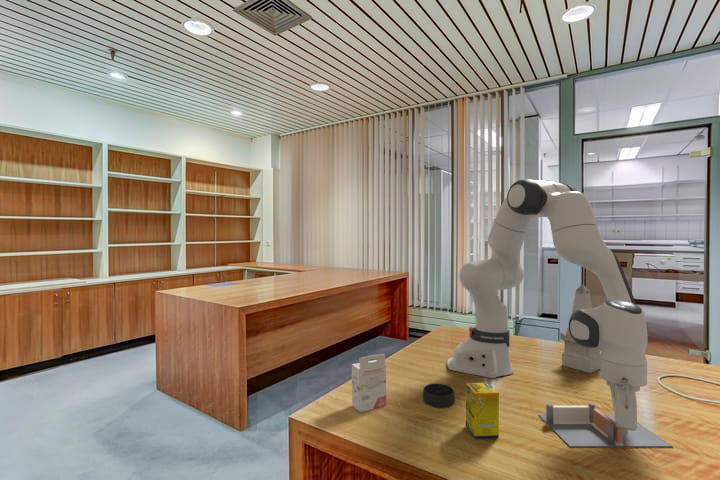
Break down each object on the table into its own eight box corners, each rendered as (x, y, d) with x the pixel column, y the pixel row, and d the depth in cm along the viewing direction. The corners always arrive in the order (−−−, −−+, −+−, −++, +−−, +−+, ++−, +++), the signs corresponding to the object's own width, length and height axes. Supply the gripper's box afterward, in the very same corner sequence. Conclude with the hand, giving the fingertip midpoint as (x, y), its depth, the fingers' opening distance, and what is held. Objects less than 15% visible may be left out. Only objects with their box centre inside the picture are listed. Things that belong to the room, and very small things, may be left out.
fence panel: (592, 422, 91) (592, 408, 91) (596, 422, 91) (596, 408, 91) (618, 443, 82) (618, 427, 82) (622, 443, 82) (622, 427, 82)
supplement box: (464, 426, 91) (465, 382, 91) (488, 425, 91) (488, 382, 91) (474, 440, 85) (474, 393, 85) (499, 438, 86) (499, 392, 85)
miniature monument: (604, 367, 132) (605, 284, 132) (591, 373, 126) (591, 286, 126) (574, 359, 141) (574, 281, 140) (560, 365, 135) (560, 283, 134)
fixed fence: (568, 445, 83) (568, 423, 83) (545, 421, 93) (545, 403, 93) (621, 445, 83) (621, 423, 83) (592, 421, 93) (592, 403, 93)
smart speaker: (456, 398, 107) (456, 384, 107) (453, 412, 99) (453, 397, 99) (425, 394, 110) (425, 380, 110) (420, 407, 102) (420, 392, 102)
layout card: (570, 447, 82) (570, 445, 82) (538, 415, 96) (538, 414, 96) (672, 447, 82) (672, 445, 82) (625, 415, 96) (625, 414, 96)
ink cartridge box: (377, 399, 106) (377, 348, 106) (386, 406, 102) (386, 353, 102) (351, 405, 102) (351, 353, 102) (359, 413, 98) (359, 358, 98)
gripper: (646, 391, 74) (645, 459, 75) (635, 362, 92) (634, 416, 92) (608, 384, 78) (608, 449, 78) (604, 357, 95) (604, 410, 95)
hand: (622, 431), depth 85 cm, fingers closed
